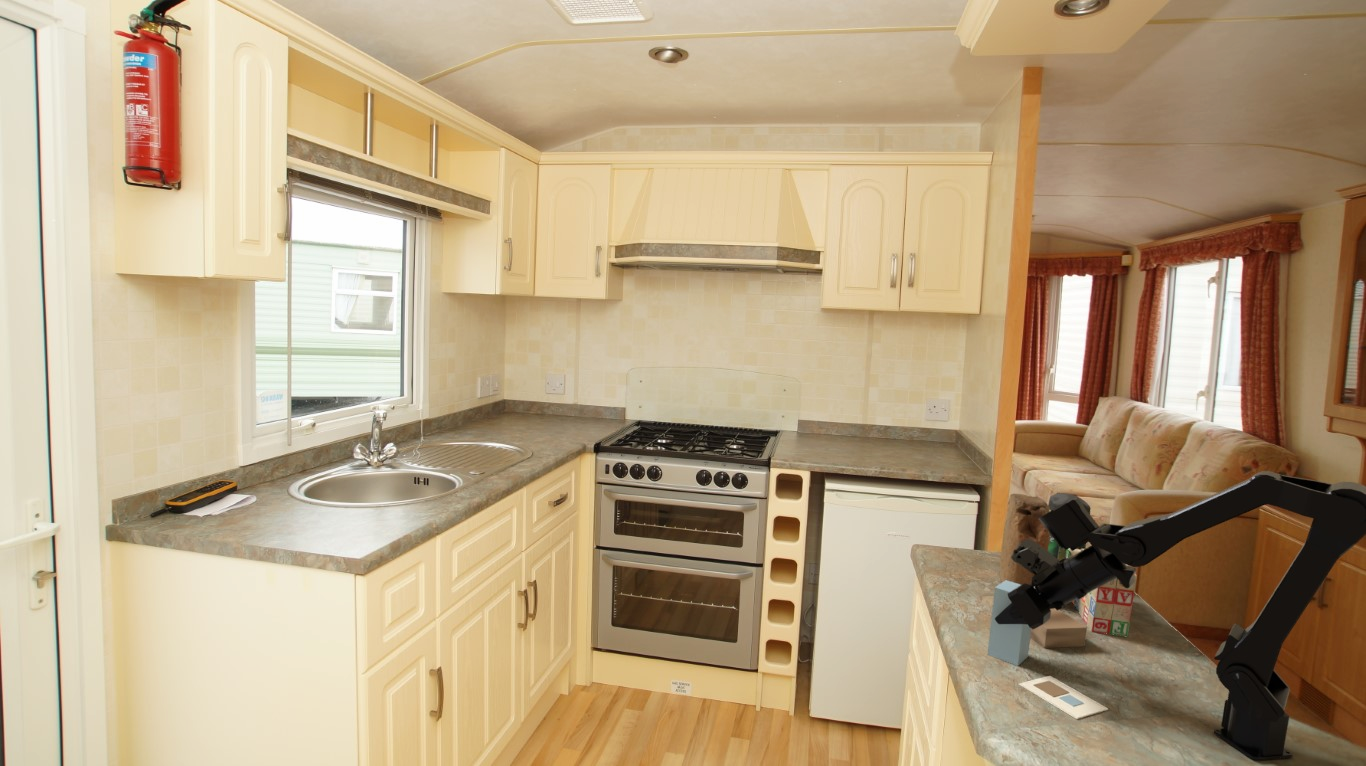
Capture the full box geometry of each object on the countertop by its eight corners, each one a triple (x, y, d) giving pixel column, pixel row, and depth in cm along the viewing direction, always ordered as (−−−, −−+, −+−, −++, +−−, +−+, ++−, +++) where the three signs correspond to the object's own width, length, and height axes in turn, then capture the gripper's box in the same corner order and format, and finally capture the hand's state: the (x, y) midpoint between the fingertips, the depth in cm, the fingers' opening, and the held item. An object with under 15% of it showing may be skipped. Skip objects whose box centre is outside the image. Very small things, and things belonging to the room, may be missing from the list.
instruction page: (1108, 709, 109) (1108, 707, 109) (1076, 719, 106) (1076, 717, 106) (1049, 676, 118) (1049, 675, 118) (1019, 684, 115) (1019, 682, 115)
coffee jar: (1037, 566, 169) (1046, 488, 167) (1074, 571, 167) (1084, 492, 165) (1045, 581, 160) (1055, 499, 158) (1085, 587, 158) (1096, 504, 156)
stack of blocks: (1061, 589, 156) (1068, 533, 155) (1093, 593, 155) (1100, 537, 153) (1091, 632, 136) (1099, 569, 134) (1128, 638, 134) (1137, 574, 133)
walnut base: (1084, 646, 130) (1087, 627, 129) (1044, 647, 128) (1046, 628, 128) (1054, 625, 138) (1056, 608, 137) (1016, 626, 136) (1018, 609, 136)
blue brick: (1028, 656, 125) (1036, 589, 124) (1017, 665, 121) (1025, 597, 120) (998, 645, 128) (1005, 580, 127) (987, 654, 125) (994, 587, 123)
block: (996, 578, 160) (1006, 490, 158) (1033, 583, 158) (1043, 494, 156) (1006, 598, 150) (1016, 503, 147) (1045, 603, 148) (1057, 507, 145)
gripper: (1065, 518, 126) (994, 561, 135) (1028, 541, 113) (951, 587, 121) (1111, 576, 122) (1034, 616, 131) (1077, 607, 108) (994, 649, 117)
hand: (1003, 615), depth 125 cm, fingers open, 6 cm apart
